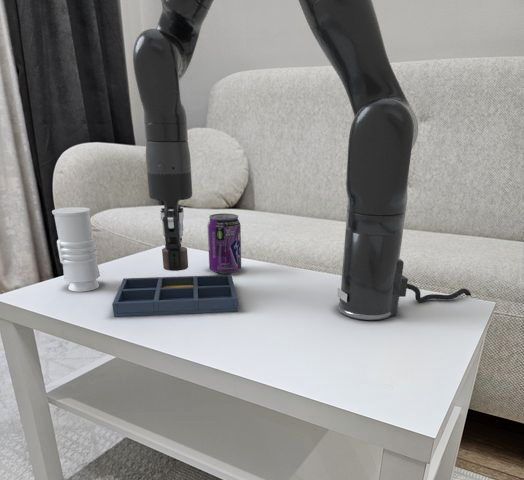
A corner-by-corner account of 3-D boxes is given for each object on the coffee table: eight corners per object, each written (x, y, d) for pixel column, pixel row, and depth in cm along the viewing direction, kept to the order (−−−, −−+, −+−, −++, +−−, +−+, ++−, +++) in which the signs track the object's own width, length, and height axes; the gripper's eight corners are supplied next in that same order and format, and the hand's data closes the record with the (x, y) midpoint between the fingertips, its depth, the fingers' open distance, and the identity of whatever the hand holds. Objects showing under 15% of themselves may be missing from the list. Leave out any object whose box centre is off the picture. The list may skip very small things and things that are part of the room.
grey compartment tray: (231, 286, 96) (231, 274, 95) (237, 311, 83) (237, 298, 82) (124, 290, 94) (123, 278, 93) (113, 316, 81) (112, 303, 80)
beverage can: (226, 277, 102) (225, 220, 96) (202, 271, 105) (200, 216, 100) (247, 270, 107) (247, 215, 101) (224, 264, 110) (222, 211, 105)
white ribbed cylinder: (61, 285, 96) (46, 209, 89) (95, 279, 100) (83, 206, 93) (71, 294, 91) (57, 214, 84) (106, 288, 95) (95, 210, 88)
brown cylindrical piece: (188, 263, 92) (187, 245, 90) (188, 270, 88) (186, 251, 86) (164, 264, 91) (162, 246, 90) (162, 271, 87) (161, 252, 86)
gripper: (190, 173, 76) (196, 276, 83) (191, 165, 89) (195, 255, 96) (143, 174, 75) (152, 278, 82) (150, 166, 88) (158, 256, 95)
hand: (176, 265), depth 89 cm, fingers closed on brown cylindrical piece, 4 cm apart
